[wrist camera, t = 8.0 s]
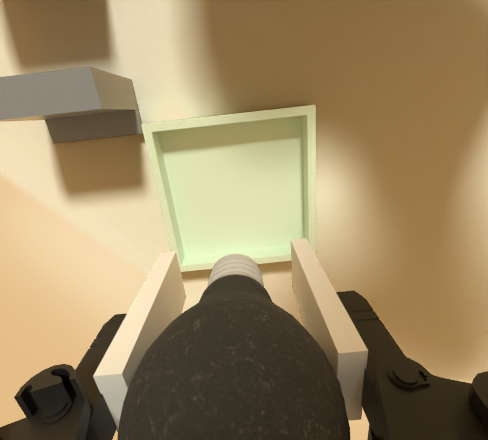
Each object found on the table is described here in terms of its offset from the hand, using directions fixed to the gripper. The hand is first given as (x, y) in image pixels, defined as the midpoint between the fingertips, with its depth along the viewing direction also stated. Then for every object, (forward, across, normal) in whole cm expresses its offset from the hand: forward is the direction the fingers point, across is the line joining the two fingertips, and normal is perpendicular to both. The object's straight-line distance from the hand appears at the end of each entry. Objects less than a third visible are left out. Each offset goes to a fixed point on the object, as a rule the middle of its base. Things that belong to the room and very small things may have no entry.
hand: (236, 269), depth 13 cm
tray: (+15, 0, 0) cm, 15 cm away
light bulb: (+1, 0, 0) cm, 1 cm away
